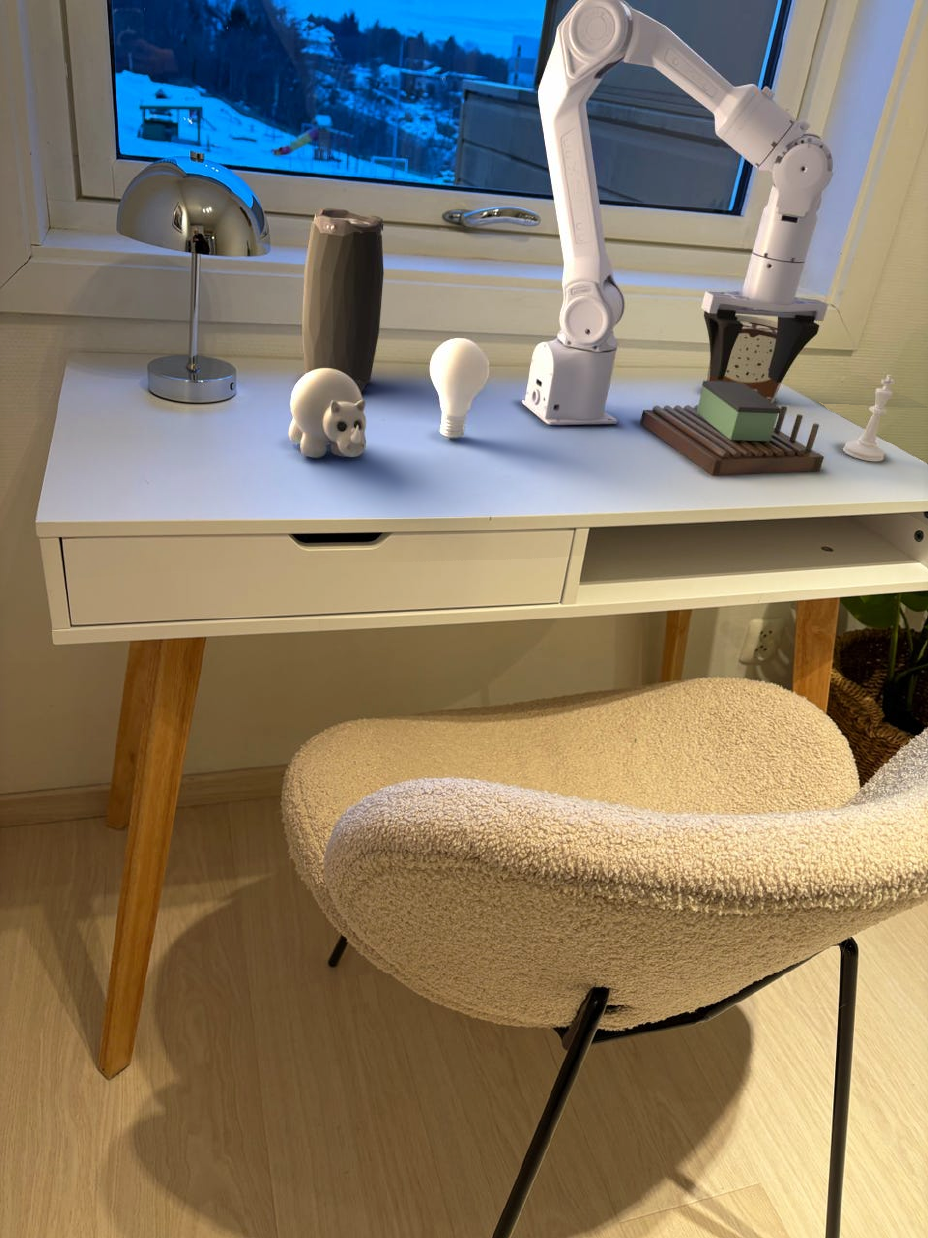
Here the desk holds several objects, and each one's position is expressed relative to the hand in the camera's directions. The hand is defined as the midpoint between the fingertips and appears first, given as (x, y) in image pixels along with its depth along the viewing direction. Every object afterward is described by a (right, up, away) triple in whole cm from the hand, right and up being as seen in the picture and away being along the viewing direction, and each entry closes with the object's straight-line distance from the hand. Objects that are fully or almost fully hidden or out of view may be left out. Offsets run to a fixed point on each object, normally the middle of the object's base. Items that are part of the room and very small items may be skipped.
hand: (745, 378), depth 117 cm
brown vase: (-48, 0, +6) cm, 48 cm away
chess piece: (+17, -8, +8) cm, 20 cm away
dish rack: (-1, -7, +4) cm, 8 cm away
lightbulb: (-34, -8, -5) cm, 35 cm away
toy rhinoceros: (-46, -12, -15) cm, 50 cm away
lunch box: (-1, -5, +3) cm, 6 cm away
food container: (+6, +4, +25) cm, 26 cm away
